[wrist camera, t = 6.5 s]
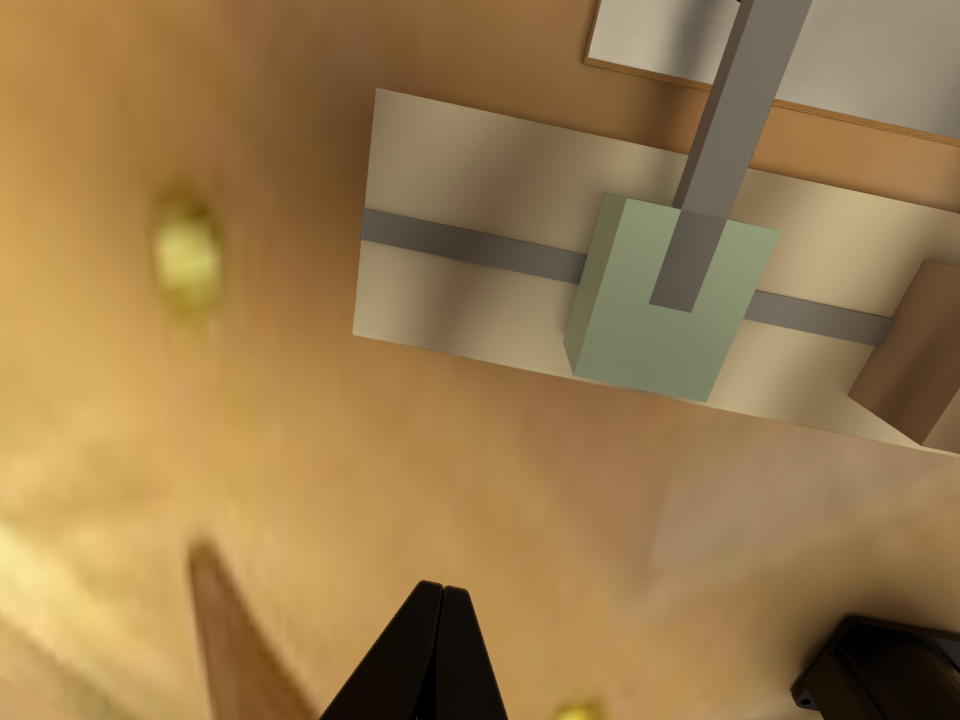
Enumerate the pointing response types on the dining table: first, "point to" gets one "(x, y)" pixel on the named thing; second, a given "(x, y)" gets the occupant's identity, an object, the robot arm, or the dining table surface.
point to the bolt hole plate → (806, 57)
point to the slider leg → (687, 235)
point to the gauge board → (655, 177)
